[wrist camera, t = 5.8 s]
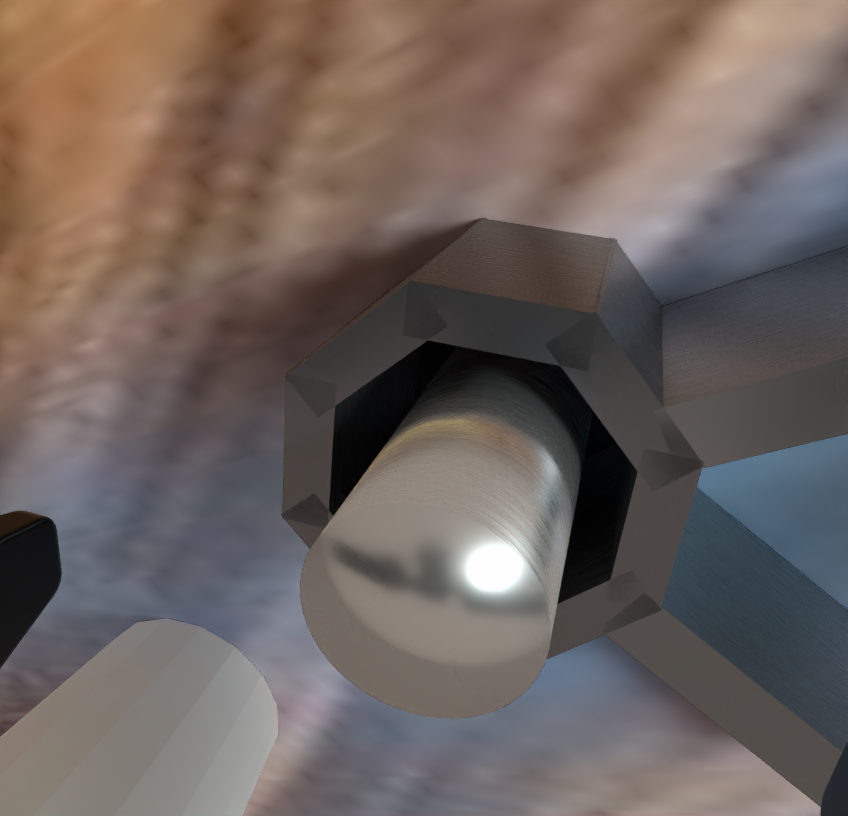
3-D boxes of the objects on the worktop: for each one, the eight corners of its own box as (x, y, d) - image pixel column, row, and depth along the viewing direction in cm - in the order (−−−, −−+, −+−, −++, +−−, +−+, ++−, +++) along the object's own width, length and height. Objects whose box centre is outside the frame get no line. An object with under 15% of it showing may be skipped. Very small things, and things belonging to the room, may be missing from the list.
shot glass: (175, 801, 25) (17, 1043, 19) (47, 636, 23) (-171, 839, 17) (343, 761, 22) (221, 1031, 16) (210, 570, 21) (18, 785, 14)
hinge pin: (612, 320, 15) (573, 541, 8) (583, 454, 16) (527, 747, 9) (462, 293, 16) (305, 477, 9) (445, 425, 17) (296, 679, 10)
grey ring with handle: (1309, 114, 11) (1735, 140, 7) (960, 744, 17) (1070, 989, 12) (410, 17, 14) (295, -8, 10) (361, 586, 19) (274, 739, 15)
